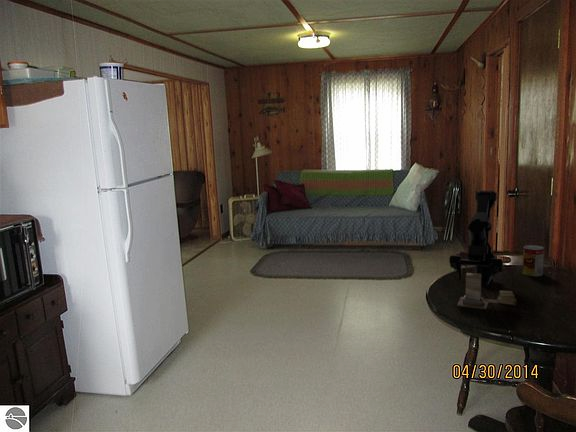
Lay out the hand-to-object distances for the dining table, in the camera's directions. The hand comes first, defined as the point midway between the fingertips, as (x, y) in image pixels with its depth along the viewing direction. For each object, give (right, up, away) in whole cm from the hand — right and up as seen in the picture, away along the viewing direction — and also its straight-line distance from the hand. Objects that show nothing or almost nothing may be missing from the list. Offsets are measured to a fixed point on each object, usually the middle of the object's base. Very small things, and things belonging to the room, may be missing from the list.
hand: (473, 283), depth 173 cm
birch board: (0, -7, +1) cm, 8 cm away
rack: (+5, -8, +1) cm, 10 cm away
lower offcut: (+13, -7, +1) cm, 14 cm away
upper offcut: (+13, -5, +1) cm, 14 cm away
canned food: (+39, -1, +32) cm, 50 cm away
